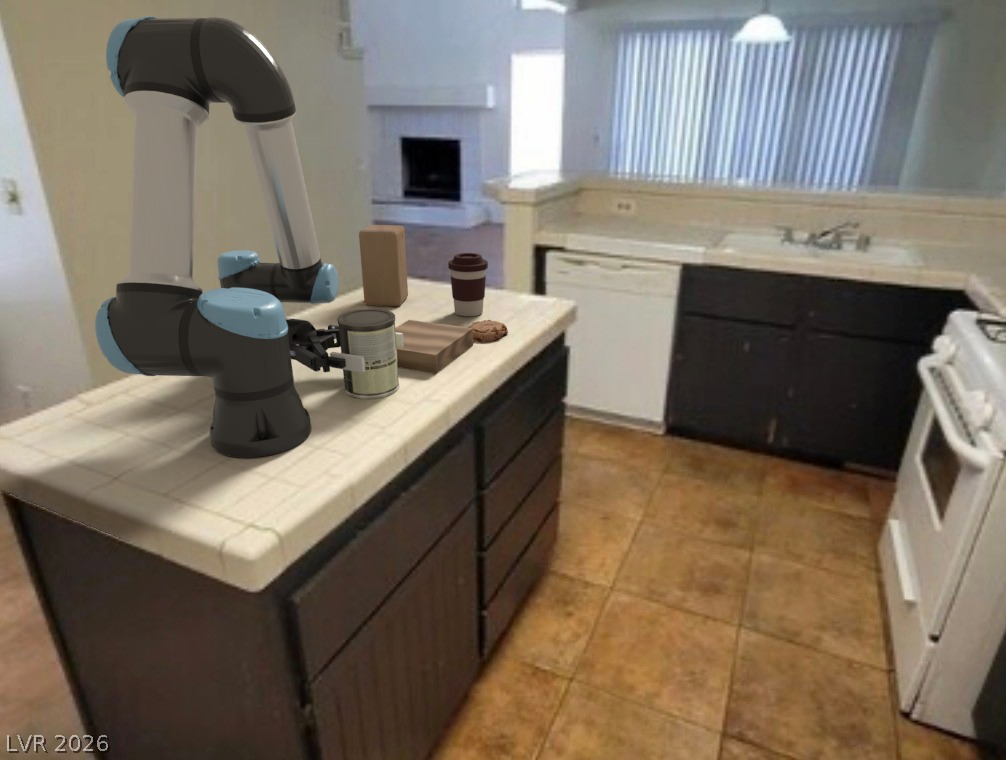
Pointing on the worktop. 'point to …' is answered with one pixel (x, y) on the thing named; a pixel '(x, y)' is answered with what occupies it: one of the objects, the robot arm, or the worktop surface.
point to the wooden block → (383, 265)
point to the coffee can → (370, 352)
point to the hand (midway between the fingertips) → (384, 352)
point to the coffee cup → (468, 283)
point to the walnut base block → (431, 345)
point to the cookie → (488, 330)
